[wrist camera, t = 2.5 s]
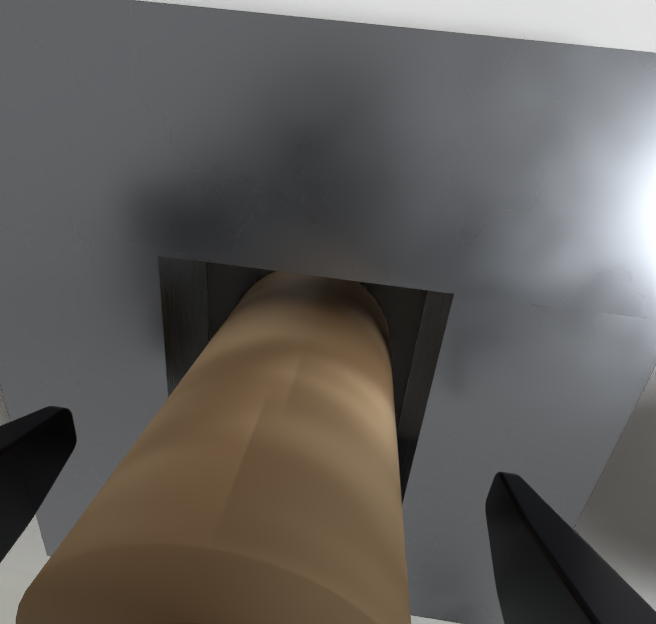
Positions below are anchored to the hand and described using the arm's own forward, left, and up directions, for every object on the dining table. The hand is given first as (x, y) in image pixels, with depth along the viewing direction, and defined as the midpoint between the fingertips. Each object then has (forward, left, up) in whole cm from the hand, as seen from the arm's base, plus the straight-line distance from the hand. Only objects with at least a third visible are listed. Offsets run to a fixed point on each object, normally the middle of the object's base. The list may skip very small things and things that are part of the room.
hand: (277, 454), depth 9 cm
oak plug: (0, 0, -5) cm, 5 cm away
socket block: (0, 0, -5) cm, 5 cm away
